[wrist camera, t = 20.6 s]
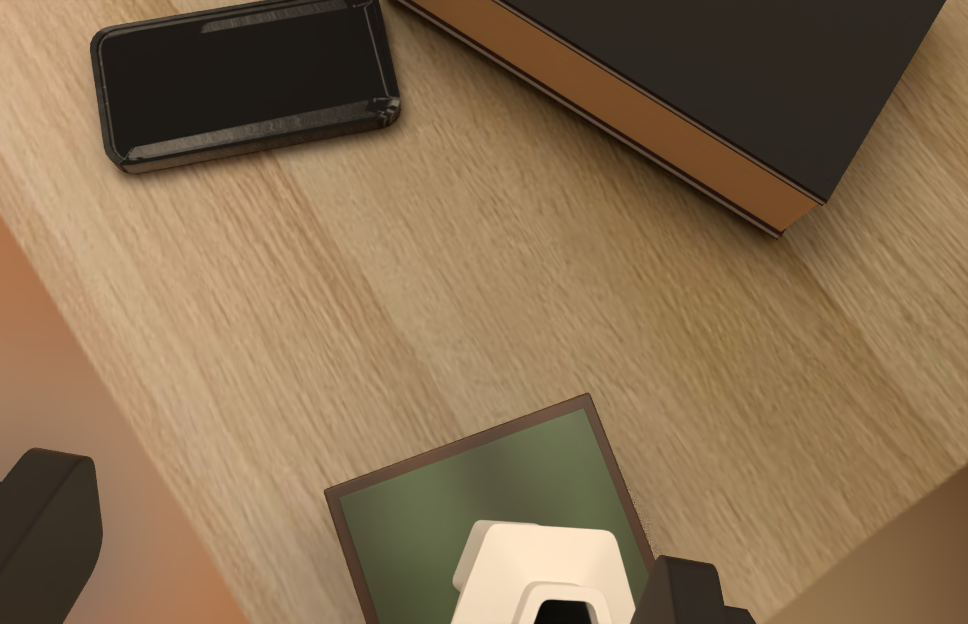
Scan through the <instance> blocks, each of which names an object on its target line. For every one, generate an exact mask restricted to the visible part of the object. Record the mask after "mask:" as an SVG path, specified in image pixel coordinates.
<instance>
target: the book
mask: <svg viewBox="0 0 968 624" xmlns="http://www.w3.org/2000/svg"><path fill="white" fill-rule="evenodd" d="M396 1H397V2H399V3H400V4H402V5H404V6H405V7H407V8H408V9H410V10H412V11H413V12H415V13H416V14H418V15H420V16H421V17H423V18H424V19H426V20H428V21H429V22H431V23H432V24H434V25H436V26H437V27H439V28H440V29H442V30H443V31H445V32H447V33H448V34H450V35H451V36H453V37H455V38H456V39H458V40H459V41H461V42H463V43H464V44H466V45H467V46H469V47H471V48H472V49H474V50H475V51H477V52H479V53H480V54H482V55H483V56H485V57H486V58H488V59H490V60H491V61H493V62H494V63H496V64H498V65H499V66H501V67H502V68H504V69H506V70H507V71H509V72H510V73H512V74H514V75H515V76H517V77H518V78H520V79H521V80H523V81H525V82H526V83H528V84H529V85H531V86H533V87H534V88H536V89H537V90H539V91H541V92H542V93H544V94H545V95H547V96H549V97H550V98H552V99H553V100H555V101H557V102H558V103H560V104H561V105H563V106H564V107H566V108H568V109H569V110H571V111H572V112H574V113H576V114H577V115H579V116H580V117H582V118H584V119H585V120H587V121H588V122H590V123H592V124H593V125H595V126H596V127H598V128H600V129H601V130H603V131H604V132H606V133H607V134H609V135H611V136H612V137H614V138H615V139H617V140H619V141H620V142H622V143H623V144H625V145H627V146H628V147H630V148H631V149H633V150H635V151H636V152H638V153H639V154H641V155H643V156H644V157H646V158H647V159H649V160H650V161H652V162H654V163H655V164H657V165H658V166H660V167H662V168H663V169H665V170H666V171H668V172H670V173H671V174H673V175H674V176H676V177H678V178H679V179H681V180H682V181H684V182H686V183H687V184H689V185H690V186H692V187H693V188H695V189H697V190H698V191H700V192H701V193H703V194H705V195H706V196H708V197H709V198H711V199H713V200H714V201H716V202H717V203H719V204H721V205H722V206H724V207H725V208H727V209H728V210H730V211H732V212H733V213H735V214H736V215H738V216H740V217H741V218H743V219H744V220H746V221H748V222H749V223H751V224H752V225H754V226H756V227H757V228H759V229H760V230H762V231H764V232H765V233H767V234H768V235H770V236H771V237H773V238H775V239H776V240H777V239H778V238H779V237H781V236H782V234H783V233H784V231H785V229H786V228H787V227H788V226H789V225H791V224H792V223H793V222H795V221H796V220H797V219H799V218H800V217H801V216H803V215H804V214H805V213H807V212H808V211H809V210H811V209H812V208H813V207H815V206H816V205H817V204H819V205H821V206H823V205H824V203H827V201H828V200H829V198H830V196H831V195H832V193H833V191H834V190H835V188H836V186H837V184H838V183H839V181H840V179H841V178H842V176H843V174H844V173H845V171H846V169H847V168H848V166H849V164H850V162H851V161H852V159H853V157H854V156H855V154H856V152H857V151H858V149H859V147H860V145H861V144H862V142H863V140H864V139H865V137H866V135H867V134H868V132H869V130H870V129H871V127H872V125H873V123H874V122H875V120H876V118H877V117H878V115H879V113H880V112H881V110H882V108H883V107H884V105H885V103H886V101H887V100H888V98H889V96H890V95H891V93H892V91H893V90H894V88H895V86H896V84H897V83H898V81H899V79H900V78H901V76H902V74H903V73H904V71H905V69H906V68H907V66H908V64H909V62H910V61H911V59H912V57H913V56H914V54H915V52H916V51H917V49H918V47H919V45H920V44H921V42H922V40H923V39H924V37H925V35H926V34H927V32H928V30H929V29H930V27H931V25H932V23H933V22H934V20H935V18H936V17H937V15H938V13H939V12H940V10H941V8H942V7H943V5H944V3H945V1H946V0H396Z"/></svg>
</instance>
